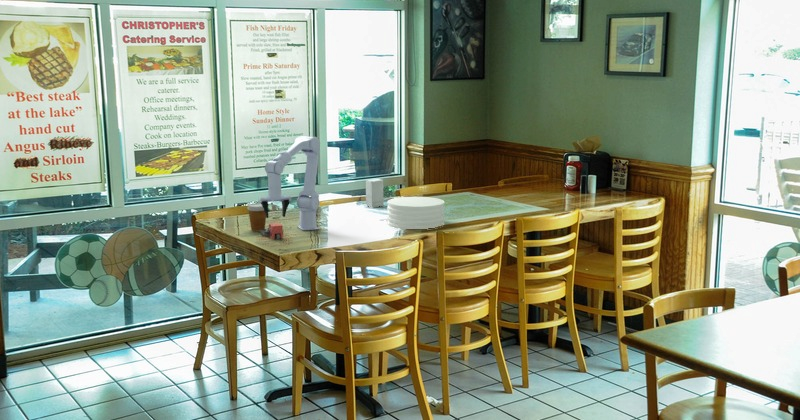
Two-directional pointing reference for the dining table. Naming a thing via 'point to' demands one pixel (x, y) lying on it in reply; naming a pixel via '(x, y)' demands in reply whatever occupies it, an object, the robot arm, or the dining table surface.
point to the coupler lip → (266, 233)
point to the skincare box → (374, 193)
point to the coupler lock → (275, 230)
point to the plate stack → (415, 212)
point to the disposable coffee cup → (257, 216)
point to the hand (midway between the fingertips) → (275, 217)
